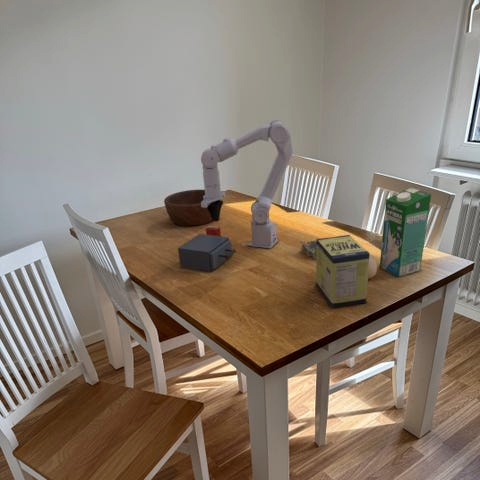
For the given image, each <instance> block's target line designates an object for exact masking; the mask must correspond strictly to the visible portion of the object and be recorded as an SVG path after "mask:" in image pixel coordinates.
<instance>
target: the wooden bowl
mask: <svg viewBox="0 0 480 480" xmlns="http://www.w3.org/2000/svg"><path fill="white" fill-rule="evenodd" d="M203 196H205V189H188V190H182V191H178V192H175V193H172V194H169V195H167V196H166V197H165V198H164V200H163V201H164V202H163V204H164V207H165V210H166V213H167V215H168V217H169V219H170V220H171V221H172V223H173V224H175V225H177V226H181V227H183V226H184V227H196V226H202V225H207V224H209V223H212V222H213V221H212V218H211V215H210V213H209V211H208V209H207V208H204V207H201V202H202V201H203V200H204V198H203Z"/></svg>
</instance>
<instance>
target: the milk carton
mask: <svg viewBox="0 0 480 480" xmlns="http://www.w3.org/2000/svg"><path fill="white" fill-rule="evenodd" d="M431 198H432V193H430V192H427V191H424V190H420V189H418V188H414V187H408V188H406V189H405V190H402V191H400V192H398V193H396V194H394V195H392V196H390V197H388V198H387V199H385V207H384V217H383V227H382V238H381V239H382V240H381V248H380V261H379V268H381V270H384V271H386V272H387V273H389V274H392V275H393V276H395V277H397V278H400V277H403V276H406V275H411V274H414V273H417V272H420V271H421V268H422V261H423V255H424V254H423V253H424V247H425V241H426V240H425V239H426V233H427V226H428V220H429V215H430V214H429V213H430V207H431V206H430V205H431Z"/></svg>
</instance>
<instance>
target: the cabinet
mask: <svg viewBox="0 0 480 480" xmlns="http://www.w3.org/2000/svg"><path fill="white" fill-rule="evenodd" d="M228 240H230V238H229V237H228V236H222V235H221V236H213V235H206V233H205V234H203V233H199V234H197V235H195V236H194V237H192V238H191V239H188V241H186V242H185V243H183V244H182V245H180V246H178V247H177V251H178V258H179V265H180V268H182V269H189V270H195V271H202V272H207V273H211V272H212V271H214V270H215V269H211V263H210V254H209V253H210V252H212V251H213V250H214V249H216V248H217V247H219V246H220V245H221V244H223V243H225V242H226V241H228Z"/></svg>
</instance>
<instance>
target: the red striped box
mask: <svg viewBox="0 0 480 480" xmlns="http://www.w3.org/2000/svg"><path fill="white" fill-rule="evenodd" d="M205 235H213V236H222V234H221V227H219V226H210V225H208V226H206V228H205Z"/></svg>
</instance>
